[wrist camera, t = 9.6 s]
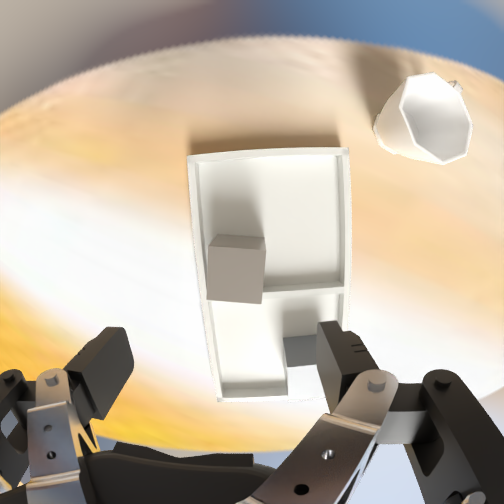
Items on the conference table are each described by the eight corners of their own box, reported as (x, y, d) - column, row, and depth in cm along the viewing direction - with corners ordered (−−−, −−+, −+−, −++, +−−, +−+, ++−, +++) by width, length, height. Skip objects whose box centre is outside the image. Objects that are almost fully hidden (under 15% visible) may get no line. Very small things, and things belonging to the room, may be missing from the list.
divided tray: (341, 150, 23) (348, 147, 21) (336, 382, 29) (340, 393, 27) (192, 157, 24) (186, 155, 22) (219, 390, 29) (217, 401, 27)
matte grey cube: (323, 333, 27) (335, 362, 22) (322, 366, 28) (332, 396, 23) (282, 337, 27) (287, 367, 22) (283, 370, 28) (287, 401, 23)
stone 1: (264, 237, 25) (266, 250, 20) (260, 281, 26) (261, 304, 21) (217, 233, 25) (208, 246, 20) (215, 278, 26) (206, 299, 21)
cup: (343, 126, 23) (379, 103, 15) (404, 69, 21) (446, 40, 13) (394, 183, 24) (443, 185, 16) (447, 122, 22) (497, 110, 14)
